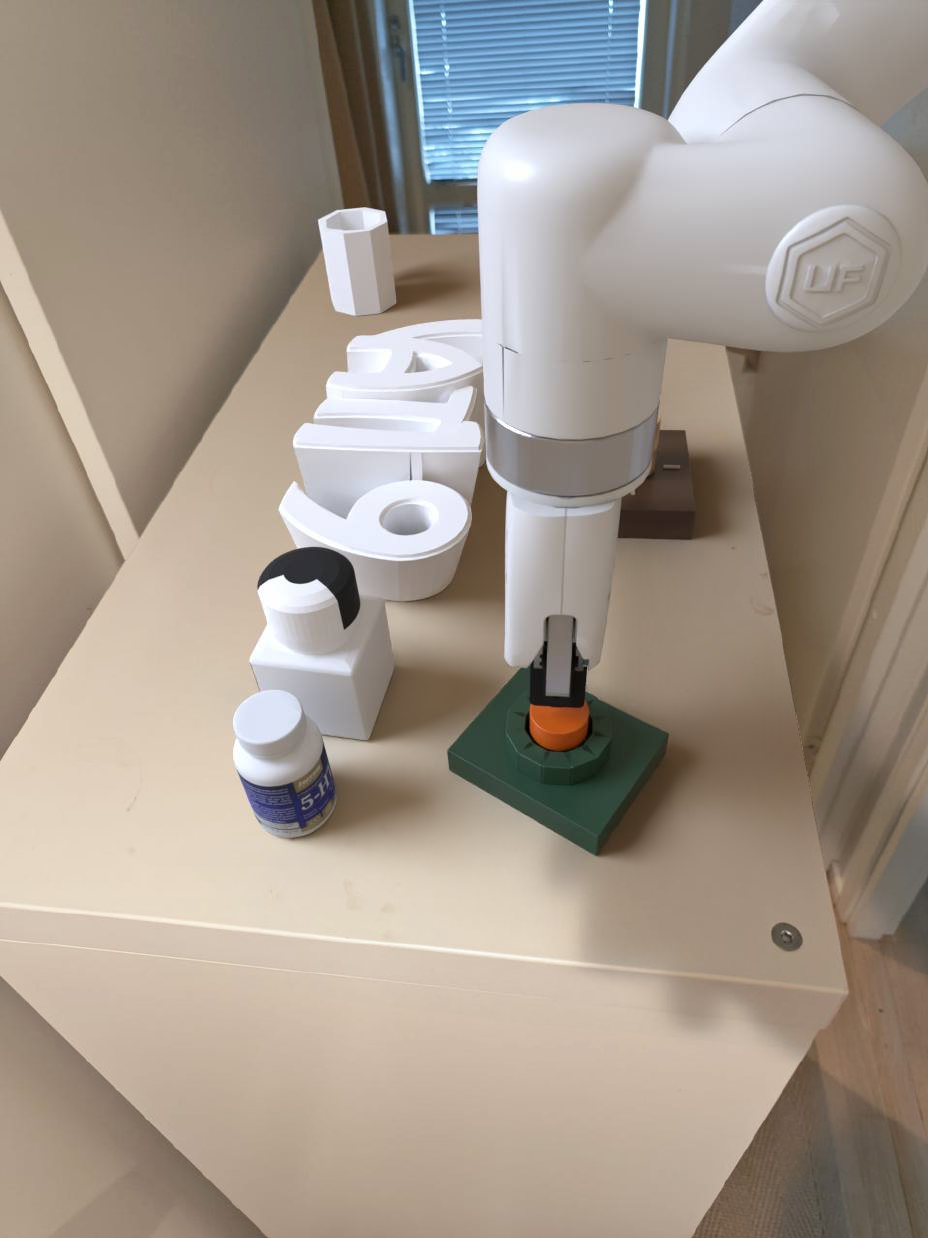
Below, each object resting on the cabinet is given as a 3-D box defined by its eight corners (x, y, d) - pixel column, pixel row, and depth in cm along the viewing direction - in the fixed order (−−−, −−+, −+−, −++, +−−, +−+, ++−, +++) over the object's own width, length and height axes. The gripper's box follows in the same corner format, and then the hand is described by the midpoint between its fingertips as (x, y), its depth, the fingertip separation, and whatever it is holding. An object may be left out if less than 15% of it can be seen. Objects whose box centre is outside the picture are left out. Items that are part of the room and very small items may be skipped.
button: (598, 721, 53) (600, 704, 52) (568, 761, 51) (569, 743, 50) (549, 697, 55) (550, 679, 53) (518, 734, 53) (518, 716, 51)
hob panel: (691, 539, 70) (696, 509, 68) (570, 536, 72) (571, 506, 69) (681, 457, 79) (685, 428, 77) (573, 455, 80) (574, 426, 78)
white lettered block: (387, 389, 90) (375, 293, 83) (540, 401, 87) (541, 301, 80) (257, 616, 67) (224, 509, 59) (461, 644, 63) (452, 534, 56)
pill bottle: (324, 845, 52) (296, 759, 46) (243, 834, 53) (205, 748, 46) (347, 773, 55) (325, 685, 49) (272, 764, 56) (240, 676, 50)
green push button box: (665, 754, 55) (673, 715, 52) (596, 856, 50) (599, 820, 47) (524, 683, 60) (524, 644, 57) (448, 770, 55) (444, 732, 52)
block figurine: (305, 654, 63) (270, 529, 55) (396, 665, 62) (375, 538, 54) (270, 729, 58) (226, 604, 50) (369, 743, 57) (341, 616, 49)
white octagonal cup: (387, 317, 103) (377, 234, 96) (321, 314, 105) (306, 232, 98) (413, 276, 111) (405, 196, 104) (351, 273, 113) (339, 195, 106)
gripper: (499, 349, 43) (504, 607, 56) (467, 534, 33) (482, 799, 46) (648, 350, 43) (618, 612, 55) (664, 540, 32) (623, 808, 45)
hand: (557, 696), depth 51 cm, fingers closed
